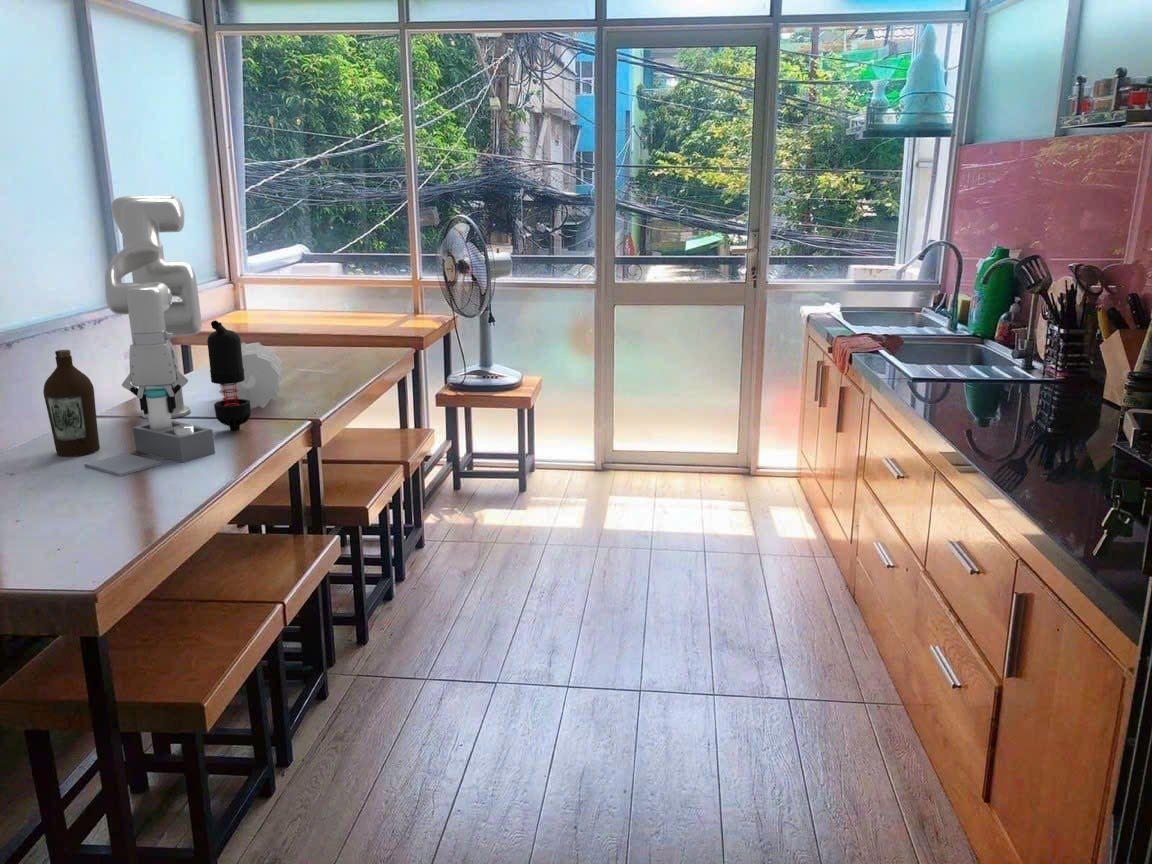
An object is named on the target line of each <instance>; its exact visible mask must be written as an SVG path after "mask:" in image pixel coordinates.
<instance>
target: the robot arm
mask: <svg viewBox="0 0 1152 864" xmlns="http://www.w3.org/2000/svg"><path fill="white" fill-rule="evenodd" d="M110 208H111V213H112V216H113V219H114V222H115V224H116V226H117V228H118V229H119V231H120V233H121V238H122V249H121V250H120V251H118V252H117V254H115V256H113V258H112V259H111V260H110V262H109V264H108V265H107V267H106V270H105V276H104V285H105V300H106V305H107V307H108V308H109V311H110V312H112V313H114V314H115V315H128V319H129V326H130V334H131V340H132V341H131V342H132V343H131V344H129V345H130V346H129V355H128V356H129V357H128V359H129V360H128V361H129V374H128V375H127V376H126V378H125V379H124V381H123V382H122V384H121V387H123V388H124V389H126V390H127V391H129V392H130V393H132V394H133V395H134V396H136V397H137V399H139V406H140V410H141V411H142V412H141V411H140V412H141V417H142V418H144V419H147V420H149V418H148V410H147V403H146V395H145V390H146V389H149V388H155V387H165V388H166V390H167V392H168V397H167V402H168V410H169V413H171V419H174V418H180V417H184V416H187V415H189V414H190V413H191V407H190V406H188V405H185V404H184V394H183V387H184V386H186V385H187V384H188V382H189V379H187V377H185V376H184V375H183V374H182V373H181V369H180V363H179V355H178V351H177V349H176V348H175V347H174V345H172V344H173V343H172V342H169V341H168V340H170V339H173V338H174V337H185V336H186V337H187V336H194V335H195V336H196V335H197V334H199V333H200V332H201V329H202V314H201V306H200V299H199V291H198V282H197V278H196V272H195V270H194V267H193V266H192V265H191V264H189V263H188V262H186V261H166V260H165V256H164V246H163V243H162V242H161V240H160V233H179V232H182V230H183V229H184V225H185V210H184V206H183V203H182V201H181V199H180V198H179V197H177V195H175V196H174V195H125V196H120V197H117V198H114V199H113V201H112V202H111V207H110ZM130 273H131V276H132V282H120V280H121V279H122V278H124V277H125V276H126V275H127V274H130ZM173 297H174V298H175V297H177V298H179V299H181V301H173Z"/></svg>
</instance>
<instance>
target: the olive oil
mask: <svg viewBox="0 0 1152 864" xmlns="http://www.w3.org/2000/svg"><path fill="white" fill-rule="evenodd" d="M54 354H55V363H56V368H55V369H54V370H53V372H51V374H50V375H49V376H48V378H47V379H46V380H45V382H44V385H43V396H44V397H43V398H44V401H45V405H46V410H47V415H48V420H49V424H50V429H51V433H52V438H53V444H54V447H55V453H56V455H57V456H58V457H69V458H70V457H79V456H86V455H89V454H94V453H95V452H96V453H97V452H98V451H99V450H100V447H101V446H100V439H99V438H100V437H99V429H98V421H97V419H98V418H97V410H96V399H95V397H96V395H95V388H94V384H93V383H92V381H91V379H90V378H89V377H88V376H87V375H86V374H85V373H83V372H82V371H81V370H79V369H78V368H77V367H76V366H74V364H73V357H72V355H71V350H70V349H59V350H55V351H54Z"/></svg>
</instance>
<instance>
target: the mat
mask: <svg viewBox="0 0 1152 864" xmlns="http://www.w3.org/2000/svg"><path fill="white" fill-rule="evenodd" d="M161 464H162V462H161V461H160V460H159V461H158V460H155V459H150V458H147V457H143V456H139V455H134V454H129V453H127V452H124V453H120V454H115V455H113V456H109V457H105V458H101V459H97V460H94V461H89V462H87V463H86V462H85V463H84V467H87V468H91V469H93V468H94V470H98V471H101V472H106V473H109V474H112V473H113V475H116V476H119V475H120V477H122V475H123V476H126V475H130V474H133V473H136V471H137V472H139V471H142V470H143V469H144V470H146V468H147V469H150V468H153V467H157V466H161ZM149 467H150V468H149ZM129 473H130V474H129Z"/></svg>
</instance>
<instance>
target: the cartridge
mask: <svg viewBox="0 0 1152 864" xmlns="http://www.w3.org/2000/svg"><path fill="white" fill-rule="evenodd" d="M145 395H146V403H147V410H148V418H149V419H148V424H149V425H150V429H151V430H155V431H158V430H162V429H166V428H170V427H172V421H173V420H172V418H171V413H169V410H168V402H167V397H168V392H167V390H166V388H165V387H155V388H149V389H146V390H145Z"/></svg>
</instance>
